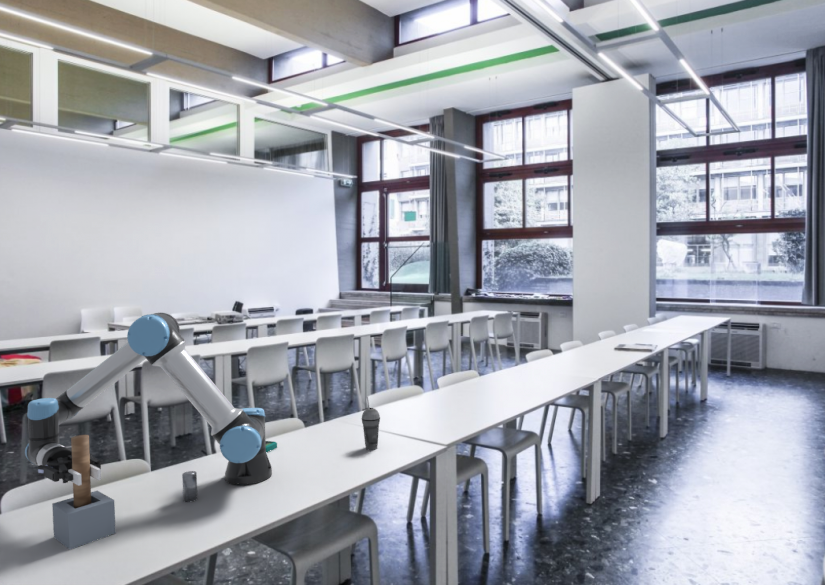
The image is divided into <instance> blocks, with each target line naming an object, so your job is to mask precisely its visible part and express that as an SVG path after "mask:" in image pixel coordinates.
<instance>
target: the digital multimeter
mask: <svg viewBox="0 0 825 585" xmlns="http://www.w3.org/2000/svg"><path fill="white" fill-rule="evenodd" d="M277 448H278V442H276V441H272V440H271V441H270V440H266V452H267V453H268V451H269V452H271V451H273V450H275V449H277ZM270 450H271V451H270Z"/></svg>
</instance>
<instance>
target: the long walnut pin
mask: <svg viewBox="0 0 825 585" xmlns="http://www.w3.org/2000/svg"><path fill="white" fill-rule="evenodd" d="M70 440H71V442H70V443H71V450H72V470H74V471H76V472H78V473H80V474H81V481H82V485H79V486H78V485H76V484H75V483H73V482H72V496H73V497H72V498H73V500H74V508H79V507H82V506H85V505H89V504H91V492H92V487H91V486H92V485H91V480H92V479H91V476H90V454H91V453H90V435H89V434H79V435H74V436H71V439H70Z"/></svg>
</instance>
